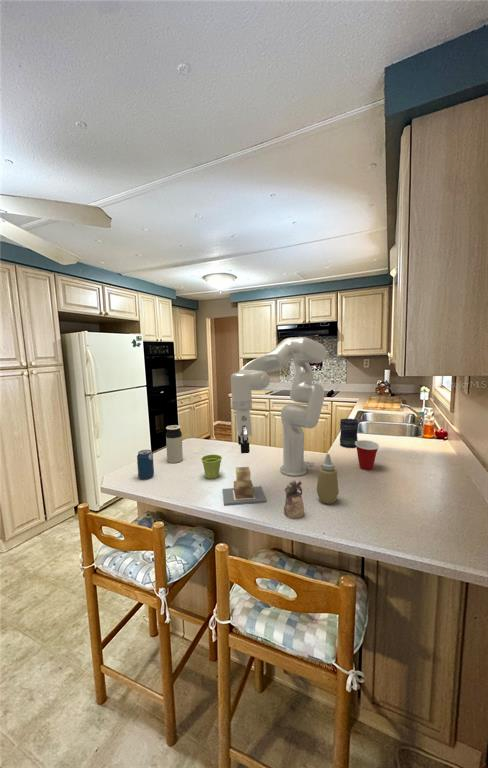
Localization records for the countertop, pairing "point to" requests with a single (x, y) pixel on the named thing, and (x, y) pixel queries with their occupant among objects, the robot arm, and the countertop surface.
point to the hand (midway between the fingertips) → (243, 448)
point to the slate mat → (230, 498)
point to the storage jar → (348, 433)
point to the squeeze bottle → (327, 482)
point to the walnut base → (243, 491)
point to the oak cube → (243, 477)
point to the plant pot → (211, 465)
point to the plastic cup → (366, 453)
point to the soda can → (145, 464)
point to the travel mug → (174, 444)
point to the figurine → (293, 500)
